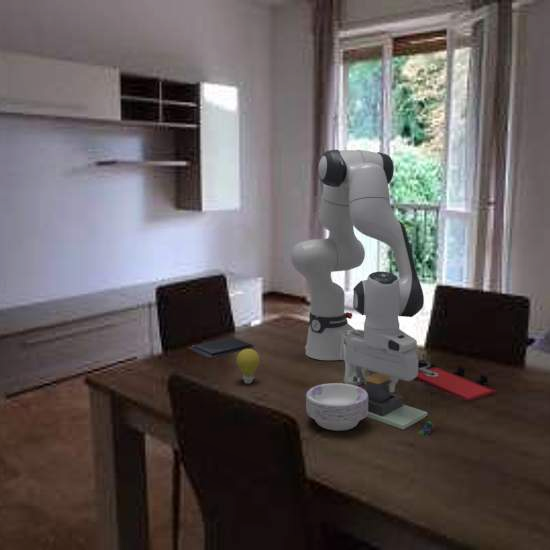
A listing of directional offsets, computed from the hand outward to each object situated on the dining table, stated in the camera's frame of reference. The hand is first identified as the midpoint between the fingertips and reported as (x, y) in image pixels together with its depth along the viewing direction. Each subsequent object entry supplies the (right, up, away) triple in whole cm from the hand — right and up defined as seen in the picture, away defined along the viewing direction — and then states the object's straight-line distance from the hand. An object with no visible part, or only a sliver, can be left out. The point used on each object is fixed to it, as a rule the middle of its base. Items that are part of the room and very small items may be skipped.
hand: (379, 388), depth 154 cm
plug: (0, -5, +1) cm, 5 cm away
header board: (0, -6, +1) cm, 6 cm away
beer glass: (-4, -2, +21) cm, 22 cm away
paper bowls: (-12, -8, -7) cm, 16 cm away
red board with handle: (+24, -3, +23) cm, 33 cm away
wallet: (-46, +3, +54) cm, 70 cm away
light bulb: (-35, -2, +21) cm, 41 cm away
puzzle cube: (+10, -9, -11) cm, 17 cm away
